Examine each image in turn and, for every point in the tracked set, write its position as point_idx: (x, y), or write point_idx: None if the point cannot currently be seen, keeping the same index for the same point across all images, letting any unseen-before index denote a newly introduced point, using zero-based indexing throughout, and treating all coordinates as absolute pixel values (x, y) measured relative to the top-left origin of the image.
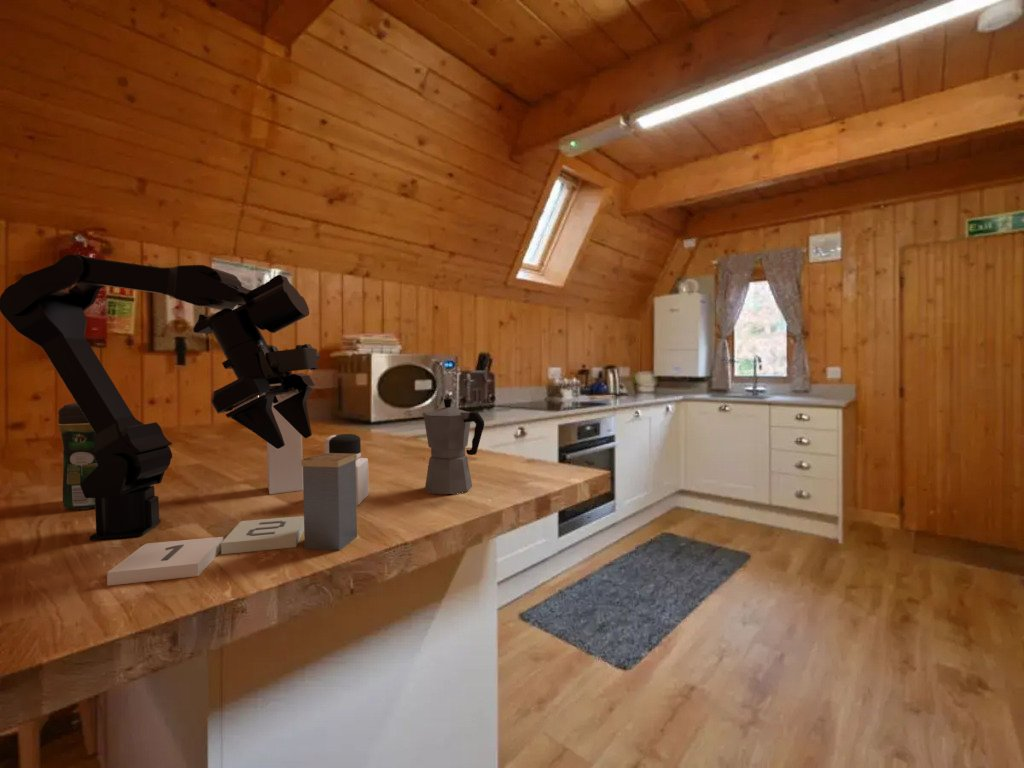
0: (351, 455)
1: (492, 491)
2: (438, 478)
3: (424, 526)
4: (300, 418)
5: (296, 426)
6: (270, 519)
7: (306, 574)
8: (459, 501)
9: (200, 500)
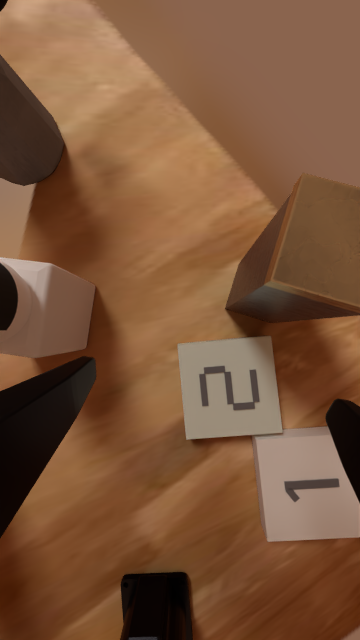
0: (332, 181)
1: (56, 80)
2: (33, 139)
3: (211, 179)
4: (21, 440)
5: (57, 438)
6: (186, 395)
7: None
8: (102, 132)
9: (4, 563)
